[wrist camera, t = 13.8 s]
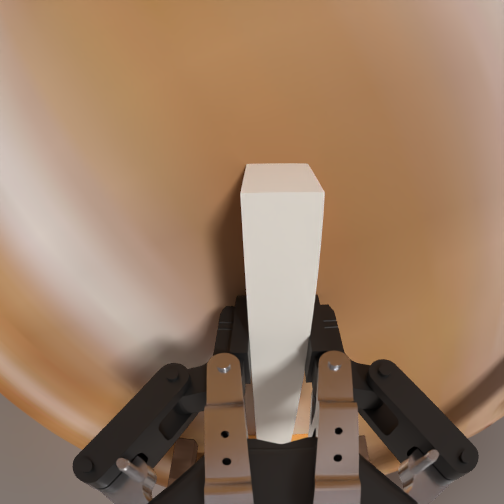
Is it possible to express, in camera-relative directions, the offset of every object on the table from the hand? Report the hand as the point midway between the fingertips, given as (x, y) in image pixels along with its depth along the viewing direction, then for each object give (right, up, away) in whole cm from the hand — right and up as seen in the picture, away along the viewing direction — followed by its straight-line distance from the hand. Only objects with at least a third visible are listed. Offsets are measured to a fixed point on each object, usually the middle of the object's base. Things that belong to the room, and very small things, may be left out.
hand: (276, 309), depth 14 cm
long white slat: (0, -5, +4) cm, 6 cm away
